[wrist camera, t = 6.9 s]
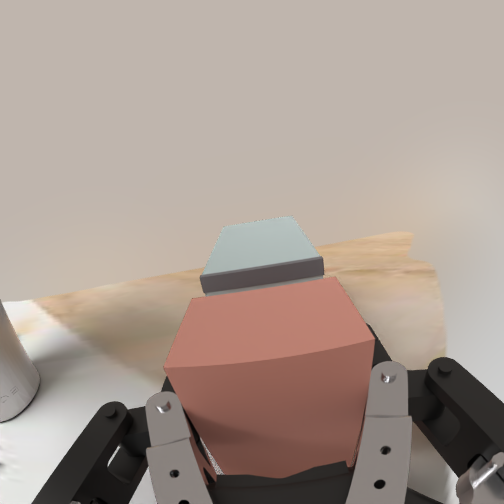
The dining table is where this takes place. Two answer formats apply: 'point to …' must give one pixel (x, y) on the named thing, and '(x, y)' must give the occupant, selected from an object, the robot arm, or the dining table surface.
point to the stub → (274, 376)
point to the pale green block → (261, 257)
